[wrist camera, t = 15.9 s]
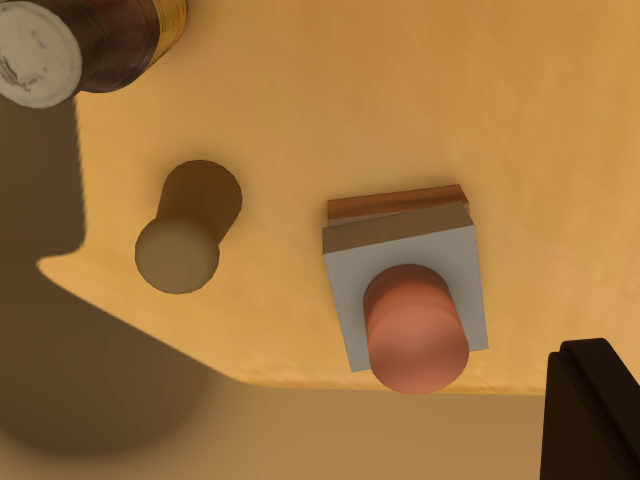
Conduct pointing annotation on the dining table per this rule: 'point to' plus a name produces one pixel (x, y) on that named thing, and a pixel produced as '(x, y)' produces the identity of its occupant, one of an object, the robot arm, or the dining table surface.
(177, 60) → the dining table surface
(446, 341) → the reddish pink cylinder
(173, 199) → the cork
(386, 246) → the tower top block
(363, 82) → the dining table surface
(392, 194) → the tower bottom block
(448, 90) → the dining table surface
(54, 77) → the sauce bottle
